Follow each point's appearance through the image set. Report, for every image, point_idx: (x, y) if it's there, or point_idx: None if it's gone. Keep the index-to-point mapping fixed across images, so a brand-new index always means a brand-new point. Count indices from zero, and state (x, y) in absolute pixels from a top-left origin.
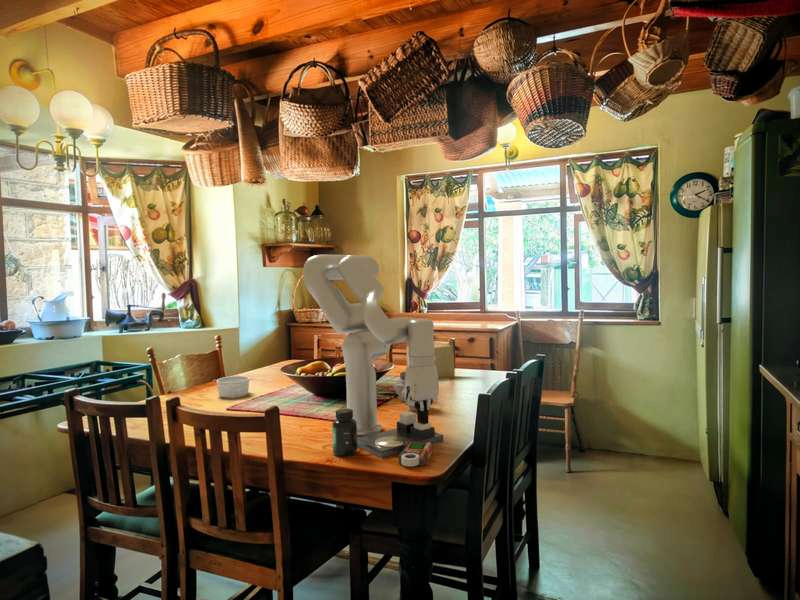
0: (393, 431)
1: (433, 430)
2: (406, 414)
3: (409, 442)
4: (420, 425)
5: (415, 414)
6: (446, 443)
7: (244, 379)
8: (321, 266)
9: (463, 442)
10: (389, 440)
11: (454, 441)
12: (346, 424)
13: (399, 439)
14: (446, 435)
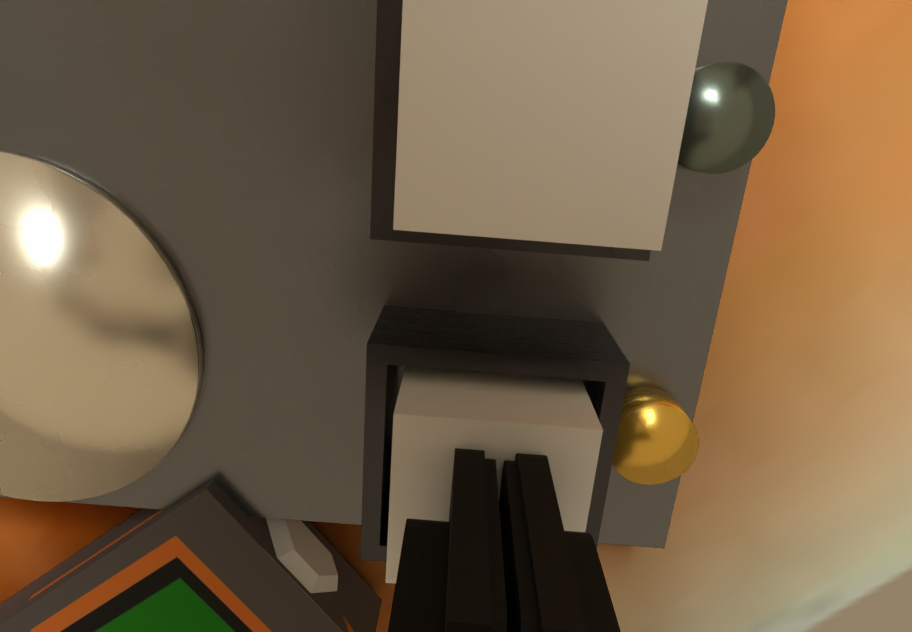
0: (295, 2)
1: None
2: (473, 122)
3: (170, 529)
4: (387, 561)
5: (635, 248)
6: (621, 550)
7: None
8: None
9: (748, 626)
10: (17, 317)
11: (719, 561)
12: None
13: (141, 372)
14: (834, 393)
